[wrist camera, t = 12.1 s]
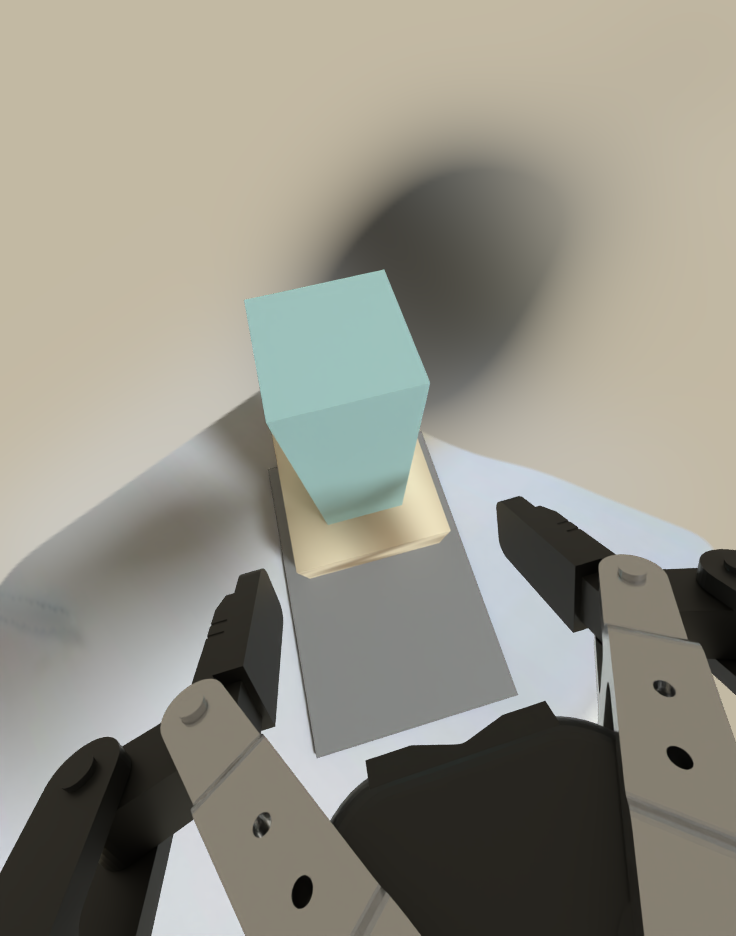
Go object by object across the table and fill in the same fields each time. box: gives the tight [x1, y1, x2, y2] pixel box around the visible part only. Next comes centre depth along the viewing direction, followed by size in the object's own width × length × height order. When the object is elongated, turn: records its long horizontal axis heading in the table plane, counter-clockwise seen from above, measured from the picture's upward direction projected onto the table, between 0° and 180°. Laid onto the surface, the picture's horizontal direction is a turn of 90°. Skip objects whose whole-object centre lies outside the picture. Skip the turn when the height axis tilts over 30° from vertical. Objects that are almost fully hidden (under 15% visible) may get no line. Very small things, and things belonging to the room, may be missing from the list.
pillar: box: [244, 270, 430, 525], centre depth 16 cm, size 4×4×12 cm
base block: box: [272, 434, 451, 579], centre depth 23 cm, size 9×9×4 cm
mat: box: [268, 431, 518, 758], centre depth 23 cm, size 12×18×1 cm, turn 15°
